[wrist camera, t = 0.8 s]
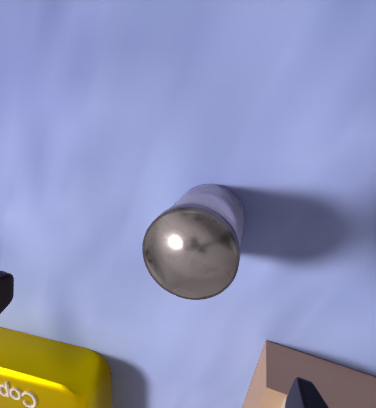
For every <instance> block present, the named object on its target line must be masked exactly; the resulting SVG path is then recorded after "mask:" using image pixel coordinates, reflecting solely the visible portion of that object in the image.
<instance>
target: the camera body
mask: <svg viewBox="0 0 376 408" xmlns="http://www.w3.org/2000/svg"><path fill="white" fill-rule="evenodd" d="M296 377H301V378H303V379H306V380H309V381H311V382H312V383H313V384H314V385H315V387H316V388H317V390H318V391H319V393H320V395H321V396H322V398H323V399H324V401H325V402H326V404H327V405H328V407H329V408H376V377H373V376H370V375H367V374H364V373H361V372H359V371H356V370H353V369H350V368H347V367H344V366H341V365H338V364H335V363H332V362H329V361H326V360H323V359H320V358H317V357H314V356H311V355H308V354H305V353H302V352H299V351H296V350H293V349H290V348H287V347H284V346H281V345H278V344H275V343H272V342H269V341H266V342H265V345H264V348H263V350H262V353H261V356H260V359H259V362H258V365H257V367H256V370H255V373H254V376H253V379H252V382H251V384H250V387H249V390H248V393H247V396H246V399H245V401H244V404H243V407H242V408H285V402H286V398H287V396H288V393H289V391H290V388H291V386H292V384H293V381H294V379H295V378H296Z"/></svg>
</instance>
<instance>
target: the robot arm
mask: <svg viewBox="0 0 376 408" xmlns="http://www.w3.org/2000/svg"><path fill="white" fill-rule="evenodd" d="M13 290H14V278H13V275H11V274H10V273H7V272H4V271H0V313H1V312H2V311H3V310H4V309H5V308H6V307H7V306H8V305H9V304H10V302H11V301H12V299H13ZM285 408H329V407H328V405H327V404H326V402H325V401H324V399H323V398H322V396H321V395H320V393H319V391H318V390H317V388H316V387H315V385H314V384H313V383H312V382H311V381H309V380H306V379H303V378H301V377H296V378H295V379H294V381H293V384H292V386H291V388H290V391H289V393H288V396H287V398H286V402H285Z"/></svg>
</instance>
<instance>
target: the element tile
mask: <svg viewBox="0 0 376 408" xmlns="http://www.w3.org/2000/svg"><path fill="white" fill-rule="evenodd" d="M0 408H112V379H111V370H110V367H109V365H108V363H107V361H106V360H105V359H104V358H103V357H102V356H101V355H100V354H98V353H96V352H95V351H92V350H90V349H87V348H83V347H79V346H75V345H71V344H67V343H63V342H58V341H54V340H50V339H46V338H42V337H38V336H34V335H30V334H26V333H22V332H18V331H14V330H10V329H6V328H2V327H0Z"/></svg>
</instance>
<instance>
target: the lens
mask: <svg viewBox="0 0 376 408" xmlns="http://www.w3.org/2000/svg"><path fill="white" fill-rule="evenodd" d="M244 221H245V216H244V210H243V207H242V204H241V203H240V201H239V199H238V198H237V197H236V196H235V195H234V194H233V193H232V192H231V191H230V190H228V189H227V188H225V187H222V186H219V185H215V184H202V185H199V186H196V187H194V188H192V189H190V190H189V191H188V192H187V193H186V194H184V195H183V196H182V197H181V198H180V199H179V200H178V201H177V202H176V203H175V204H174V205H173V206H172V207H171V208H170V209H168V210H166V211H165V212H163V213H162V214H161V215H160V216H159V217H158V218H157V219H155V220H154V221H153V222H152V224H151V225H150V226H149V228H148V230H147V231H146V234H145V236H144V240H143V258H144V262H145V265H146V267H147V269H148V271H149V273H150V275H151V276H152V277H153V279H154V280H155V281H156V282H157V283H158V284H159V285H160V286H161V287H162V288H163V289H165V290H166V291H168V292H170V293H172V294H174V295H176V296H178V297H182V298H185V299H192V300H200V299H207V298H211V297H213V296H216V295H218V294H220V293H221V292H223V291H224V290H225V289H226V288H227V287H228V286H229V285H230V284H231V283H232V281H233V280H234V278H235V276H236V273H237V271H238V266H239V260H240V243H241V238H242V233H243V227H244Z"/></svg>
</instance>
